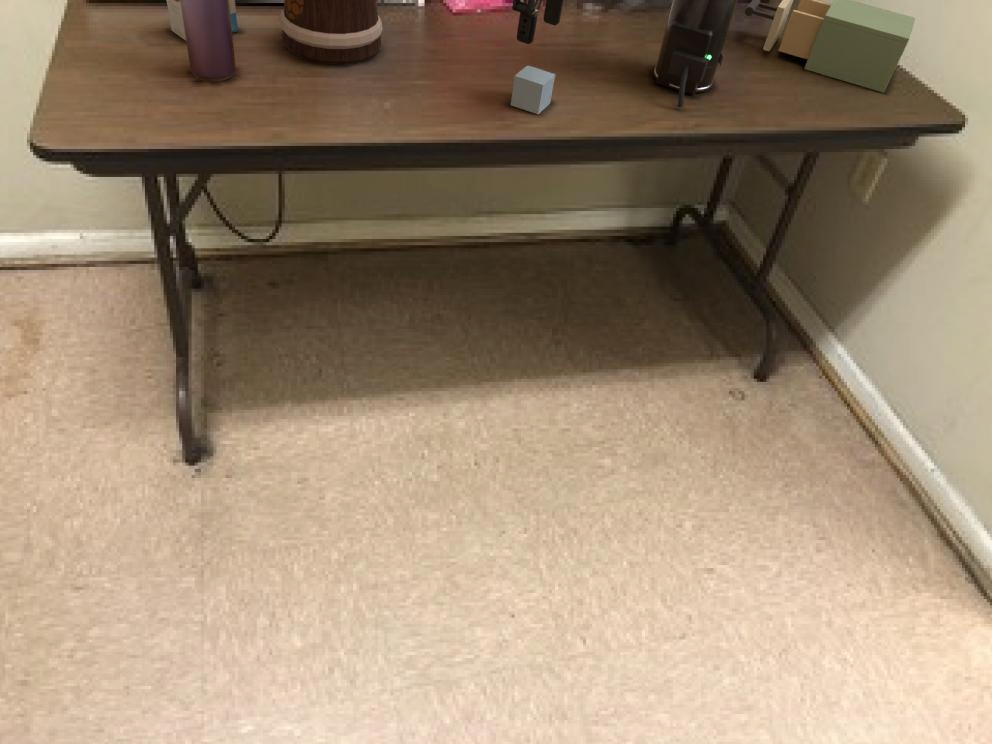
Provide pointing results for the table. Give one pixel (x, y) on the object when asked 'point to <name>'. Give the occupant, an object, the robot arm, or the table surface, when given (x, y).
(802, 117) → the table surface
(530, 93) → the block
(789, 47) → the drawer
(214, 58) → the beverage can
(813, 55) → the cabinet
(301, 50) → the mug
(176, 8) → the ink box
